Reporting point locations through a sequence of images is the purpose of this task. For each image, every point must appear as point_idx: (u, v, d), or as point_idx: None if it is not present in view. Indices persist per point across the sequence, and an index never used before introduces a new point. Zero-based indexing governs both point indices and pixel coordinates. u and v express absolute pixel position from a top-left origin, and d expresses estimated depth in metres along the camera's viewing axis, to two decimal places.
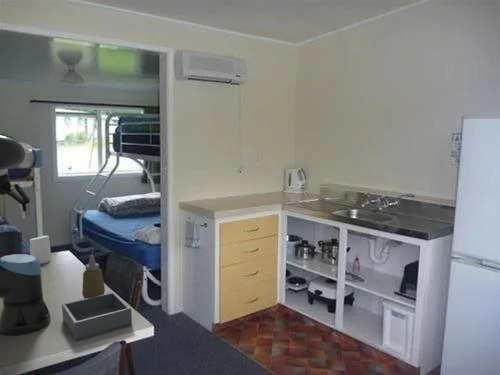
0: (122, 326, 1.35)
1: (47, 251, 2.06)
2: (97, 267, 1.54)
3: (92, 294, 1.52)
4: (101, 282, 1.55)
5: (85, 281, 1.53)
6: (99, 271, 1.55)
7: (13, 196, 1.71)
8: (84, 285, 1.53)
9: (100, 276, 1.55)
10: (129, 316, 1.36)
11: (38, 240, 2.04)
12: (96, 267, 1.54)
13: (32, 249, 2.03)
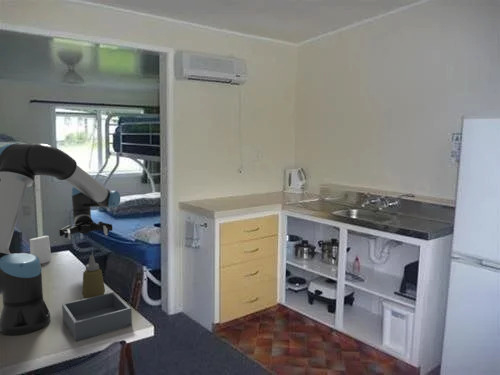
0: (122, 326, 1.35)
1: (47, 251, 2.06)
2: (97, 267, 1.54)
3: (92, 294, 1.52)
4: (101, 282, 1.55)
5: (85, 281, 1.53)
6: (99, 271, 1.55)
7: (97, 224, 1.74)
8: (84, 285, 1.53)
9: (100, 276, 1.55)
10: (129, 316, 1.36)
11: (38, 240, 2.04)
12: (96, 267, 1.54)
13: (32, 249, 2.03)
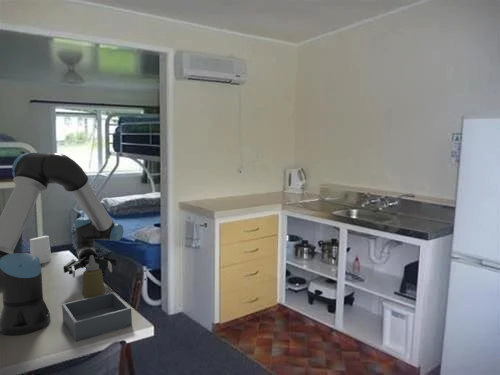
0: (122, 326, 1.35)
1: (47, 251, 2.06)
2: (97, 267, 1.54)
3: (92, 294, 1.52)
4: (101, 282, 1.55)
5: (85, 281, 1.53)
6: (99, 271, 1.55)
7: (101, 259, 1.73)
8: (84, 285, 1.53)
9: (100, 276, 1.55)
10: (129, 316, 1.36)
11: (38, 240, 2.04)
12: (96, 267, 1.54)
13: (32, 249, 2.03)
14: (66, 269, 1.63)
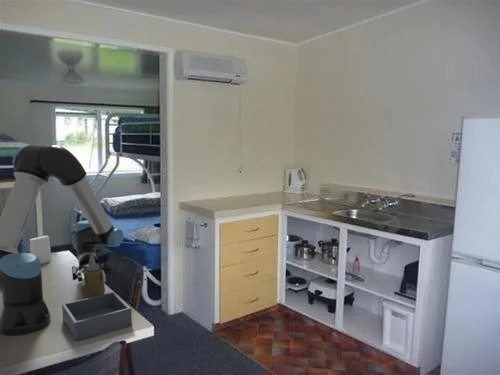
0: (122, 326, 1.35)
1: (47, 251, 2.06)
2: (97, 267, 1.54)
3: (92, 294, 1.52)
4: (101, 282, 1.55)
5: (85, 281, 1.53)
6: (99, 271, 1.55)
7: None
8: (84, 285, 1.53)
9: (100, 276, 1.55)
10: (129, 316, 1.36)
11: (38, 240, 2.04)
12: (96, 267, 1.54)
13: (32, 249, 2.03)
14: (75, 276, 1.55)
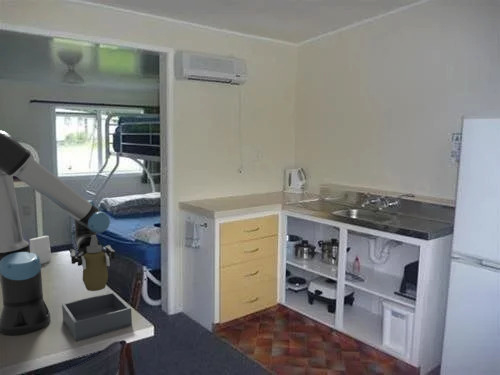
0: (122, 326, 1.35)
1: (47, 251, 2.06)
2: (100, 249, 1.36)
3: (94, 279, 1.33)
4: (104, 266, 1.36)
5: (86, 265, 1.34)
6: (102, 254, 1.36)
7: None
8: (85, 269, 1.34)
9: (103, 259, 1.36)
10: (129, 316, 1.36)
11: (38, 240, 2.04)
12: (99, 249, 1.35)
13: (32, 249, 2.03)
14: (74, 259, 1.36)
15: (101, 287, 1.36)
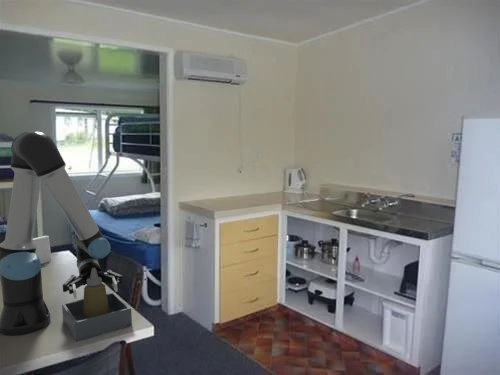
0: (122, 326, 1.35)
1: (47, 251, 2.06)
2: (100, 282, 1.36)
3: (94, 312, 1.34)
4: (104, 299, 1.37)
5: (86, 298, 1.34)
6: (102, 286, 1.36)
7: (105, 275, 1.45)
8: (85, 302, 1.35)
9: (103, 292, 1.36)
10: (129, 316, 1.36)
11: (38, 240, 2.04)
12: (99, 282, 1.36)
13: None
14: (66, 288, 1.36)
15: None
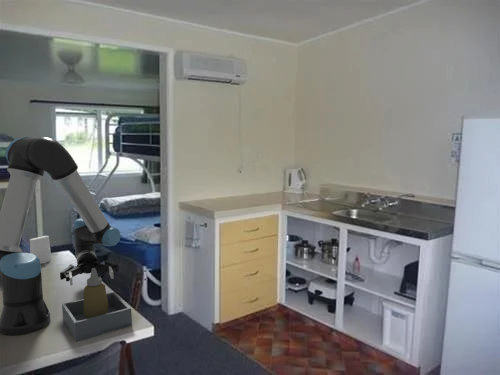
0: (122, 326, 1.35)
1: (47, 251, 2.06)
2: (100, 282, 1.36)
3: (94, 312, 1.34)
4: (104, 299, 1.37)
5: (86, 298, 1.34)
6: (102, 286, 1.36)
7: (102, 264, 1.57)
8: (85, 302, 1.35)
9: (103, 292, 1.36)
10: (129, 316, 1.36)
11: (38, 240, 2.04)
12: (99, 282, 1.36)
13: (32, 249, 2.03)
14: (63, 276, 1.48)
15: None
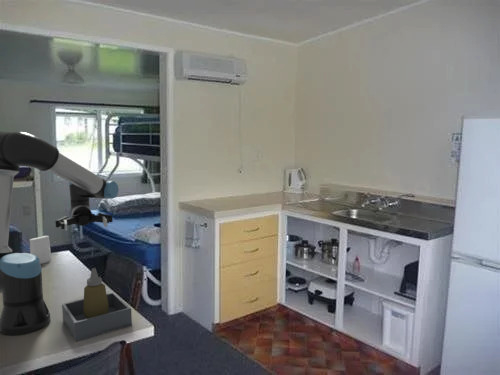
0: (122, 326, 1.35)
1: (47, 251, 2.06)
2: (100, 282, 1.36)
3: (94, 312, 1.34)
4: (104, 299, 1.37)
5: (86, 298, 1.34)
6: (102, 286, 1.36)
7: (96, 215, 1.62)
8: (85, 302, 1.35)
9: (103, 292, 1.36)
10: (129, 316, 1.36)
11: (38, 240, 2.04)
12: (99, 282, 1.36)
13: (32, 249, 2.03)
14: (58, 223, 1.53)
15: None
